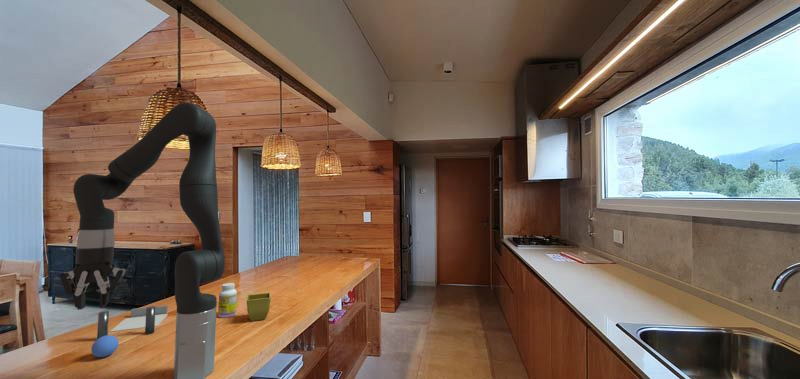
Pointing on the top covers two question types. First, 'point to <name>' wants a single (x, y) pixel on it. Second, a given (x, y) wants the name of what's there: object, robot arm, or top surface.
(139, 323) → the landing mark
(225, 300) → the supplement bottle
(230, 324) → the top surface
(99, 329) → the left post
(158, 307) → the stopper wall
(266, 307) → the flower pot
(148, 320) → the right post
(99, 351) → the ball
